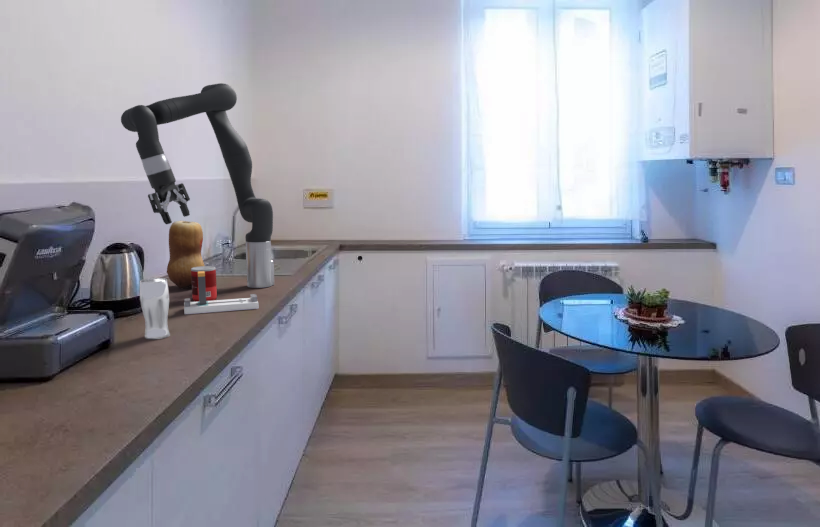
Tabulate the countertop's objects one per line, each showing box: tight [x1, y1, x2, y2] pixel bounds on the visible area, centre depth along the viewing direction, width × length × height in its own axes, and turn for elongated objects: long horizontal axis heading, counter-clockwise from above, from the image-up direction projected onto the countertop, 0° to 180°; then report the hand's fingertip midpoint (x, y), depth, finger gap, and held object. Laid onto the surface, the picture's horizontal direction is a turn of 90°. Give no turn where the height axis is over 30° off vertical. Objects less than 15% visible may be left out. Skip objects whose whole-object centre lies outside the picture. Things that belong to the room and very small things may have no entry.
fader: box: [198, 271, 206, 304], centre depth 180 cm, size 2×4×10 cm, turn 21°
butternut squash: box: [166, 220, 205, 289], centre depth 216 cm, size 14×13×25 cm
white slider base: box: [183, 293, 260, 315], centre depth 183 cm, size 22×8×4 cm, turn 111°
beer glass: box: [139, 277, 171, 340], centre depth 150 cm, size 7×7×15 cm
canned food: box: [191, 265, 218, 302], centre depth 195 cm, size 8×8×11 cm
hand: (178, 219), depth 185 cm, fingers open, 8 cm apart
